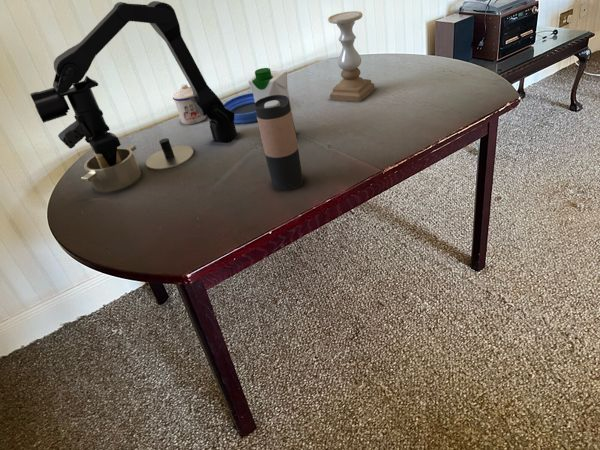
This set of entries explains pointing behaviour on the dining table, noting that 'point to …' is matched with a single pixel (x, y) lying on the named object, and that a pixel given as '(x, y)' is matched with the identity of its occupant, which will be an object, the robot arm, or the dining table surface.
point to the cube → (103, 162)
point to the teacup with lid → (187, 106)
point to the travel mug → (279, 141)
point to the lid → (169, 156)
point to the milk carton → (269, 84)
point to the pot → (113, 172)
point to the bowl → (242, 108)
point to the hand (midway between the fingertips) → (111, 164)
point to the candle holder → (349, 61)
